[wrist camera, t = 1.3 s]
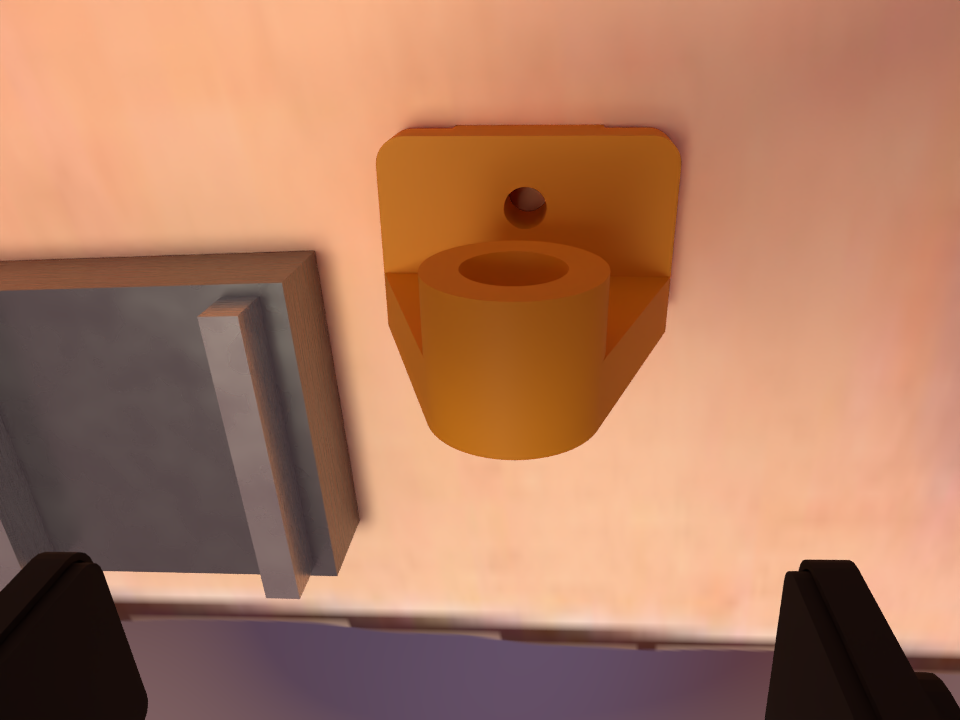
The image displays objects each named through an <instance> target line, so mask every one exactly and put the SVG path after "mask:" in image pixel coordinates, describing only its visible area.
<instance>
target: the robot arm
mask: <svg viewBox="0 0 960 720" xmlns="http://www.w3.org/2000/svg"><path fill="white" fill-rule="evenodd" d="M147 708H148V698H147V694H146V691H145V689H144V686H143V683H142V680H141V678H140V674H139V672H138V669H137V666H136V663H135V660H134V658H133V655H132V652H131V649H130V646H129V644H128V641H127V638H126V635H125V632H124V630H123V627H122V624H121V621H120V618H119V615H118V613H117V610H116V607H115V604H114V601H113V599H112V596H111V593H110V590H109V587H108V585H107V582H106V579H105V576H104V573H103V571H102V569H101V567H100V566H99V565H98V564H97V563H93V561H92V559H91V558H90V556H88V555H87V554H86V553H82V552H42V553H39V554H37V555H36V556H35V557H34V558H32V559H31V560H30V561H29V562H28V563H27V564H26V565H25V566H24V568H23V569H22V570H21V571H20V572H19V573H18V574H17V575H16V576H15V577H14V578H13V579H12V580H11V581H10V582H9V583H8V584H7V585H6V586H5V587H4V588H3V589H2V590H1V592H0V720H145V717H146V714H147ZM765 720H960V708H959V706H958V705H957V703H956V701H955V699H954V698H953V696H952V694H951V692H950V691H949V690H948V688H947V687H946V685H945V684H944V683H943V681H942V680H941V679H940V678H939V677H937V676H936V675H935V674H933V673H927V672H914V670H913V669H912V667H911V665H910V663H909V661H908V659H907V658H906V656H905V654H904V652H903V650H902V648H901V647H900V645H899V643H898V641H897V639H896V637H895V636H894V634H893V632H892V630H891V628H890V626H889V625H888V623H887V621H886V619H885V617H884V615H883V614H882V612H881V610H880V608H879V606H878V604H877V602H876V601H875V599H874V597H873V595H872V593H871V591H870V590H869V588H868V586H867V584H866V582H865V580H864V579H863V577H862V575H861V573H860V571H859V569H858V568H857V566H856V565H855V564H854V562H852V561H850V560H803V561H802V563H801V564H800V567H799V571H788V572H787V573H786V575H785V579H784V585H783V592H782V600H781V607H780V614H779V621H778V628H777V635H776V642H775V649H774V657H773V664H772V671H771V678H770V686H769V692H768V699H767V706H766V714H765Z"/></svg>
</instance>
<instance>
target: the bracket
mask: <svg viewBox="0 0 960 720" xmlns="http://www.w3.org/2000/svg"><path fill="white" fill-rule="evenodd" d="M376 171H377V184H378V197H379V210H380V222H381V235H382V248H383V260H384V273H385V286H386V299H387V311H388V324H389V327H390V330H391V332H392V335H393V337H394V340H395V343H396V345H397V348H398V350H399V353H400V355H401V358H402V360H403V363H404V365H405V368H406V370H407V373H408V375H409V378H410V381H411V383H412V386H413V388H414V391H415V393H416V396H417V398H418V401H419V403H420V406H421V408H422V411H423V414H424V416H425V419H426V421H427V424H428V426H429V428H430V430H431V431H432V432H433V433H434V435H435V436H436V437H438V438H439V439H440V440H441V441H443V442H444V443H446V444H447V445H449V446H451V447H453V448H455V449H457V450H460V451H462V452H465V453H468V454H472V455H476V456H480V457H485V458H492V459H501V460H529V459H538V458H544V457H549V456H553V455H558V454H561V453H564V452H567V451H569V450H572V449H574V448H576V447H578V446H580V445H582V444H583V443H585V442H586V441H588V440H589V439H590V438H591V437H592V436H593V435H594V434H595V433H596V432H597V430H598V429H599V427H600V426H601V424H602V423H603V421H604V420H605V418H606V417H607V416H608V414H609V413H610V411H611V410H612V408H613V407H614V405H615V404H616V402H617V401H618V399H619V398H620V397H621V395H622V394H623V392H624V391H625V389H626V388H627V386H628V385H629V383H630V382H631V380H632V379H633V378H634V376H635V375H636V373H637V372H638V370H639V369H640V367H641V366H642V364H643V363H644V361H645V360H646V359H647V357H648V356H649V354H650V353H651V351H652V350H653V348H654V347H655V345H656V344H657V342H658V341H659V340H660V338H661V337H662V335H663V334H664V332H665V327H666V317H667V307H668V296H669V286H670V276H671V265H672V255H673V245H674V234H675V224H676V214H677V203H678V193H679V183H680V173H681V157H680V153H679V151H678V149H677V148H676V146H675V145H674V144H673V142H672V141H671V140H670V139H669V137H668V136H667V135H666V134H665V133H663V132H662V131H660V130H658V129H655V128H648V127H638V128H604V125H456V126H455V127H454V128H417V129H406V130H403V131H401V132H399V133H397V134H396V135H395V136H393V137H392V138H391V139H389V140H388V141H387V142H386V143H384V144H383V146H382V147H381V148H380V150H379V152H378V154H377V158H376ZM520 187H530V188H533V189H535V190H537V191H538V192H540V193H541V194H542V196H543V197H544V199H545V203H544V204H543V206H541V207H540V208H539V209H537V210H535V211H529V212H527V211H522V210H520V209H518V208H516V207H515V206H514V205H513V204H512V202H511V200H510V197H509V194H510V193H511V192H512V191H513V190H515V189H517V188H520Z"/></svg>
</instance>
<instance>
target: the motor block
mask: <svg viewBox="0 0 960 720" xmlns="http://www.w3.org/2000/svg"><path fill="white" fill-rule="evenodd" d="M358 523H359V515H358V509H357V503H356V497H355V491H354V485H353V479H352V473H351V467H350V461H349V455H348V449H347V443H346V437H345V431H344V425H343V418H342V412H341V406H340V400H339V394H338V388H337V382H336V376H335V370H334V364H333V358H332V352H331V346H330V340H329V334H328V328H327V322H326V316H325V310H324V304H323V298H322V292H321V286H320V280H319V274H318V268H317V262H316V256H315V251H295V252H265V253H235V254H205V255H175V256H145V257H115V258H85V259H55V260H25V261H0V591H1V590H2V589H3V588H4V587H5V586H6V585H7V584H8V583H9V582H10V581H11V580H12V579H13V578H14V577H15V576H16V575H17V574H18V573H19V572H20V571H21V570H22V569H23V568H24V566H25V565H26V564H27V563H28V562H29V561H30V560H31V559H32V558H34V557H35V556H36V555H37V554H39V553H42V552H82V553H86V554H87V555H88V556H90V558H91V559H92V561H93V563H97V564H98V565H99V566H100V567H101V569H102V571H133V572H178V573H223V574H260V575H261V579H262V583H263V587H264V591H265V595H266V598H286V599H300V597H301V595H302V593H303V591H304V589H305V586H306V584H307V582H308V580H309V577H310V575H314V576H338V573H339V571H340V568H341V566H342V563H343V561H344V558H345V556H346V553H347V551H348V548H349V546H350V543H351V541H352V538H353V536H354V533H355V531H356V528H357V526H358Z"/></svg>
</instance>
